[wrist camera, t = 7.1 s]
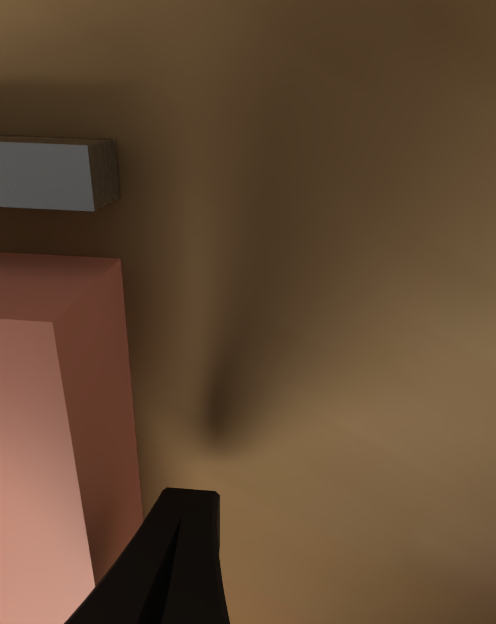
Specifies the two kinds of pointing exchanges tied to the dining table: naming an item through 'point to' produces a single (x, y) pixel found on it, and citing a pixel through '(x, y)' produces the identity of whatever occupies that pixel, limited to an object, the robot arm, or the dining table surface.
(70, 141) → the bay
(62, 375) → the t block
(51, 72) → the dining table surface
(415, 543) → the dining table surface
